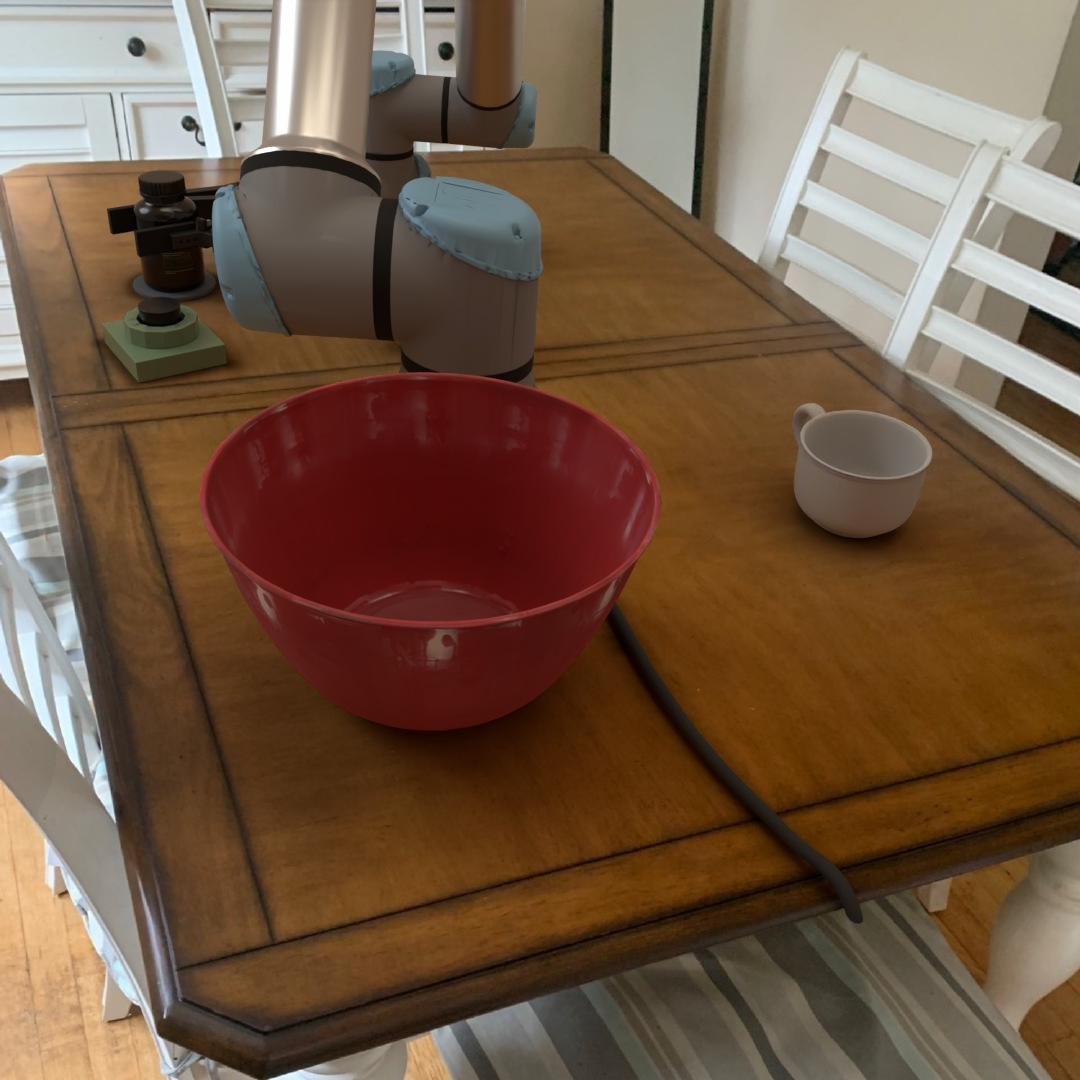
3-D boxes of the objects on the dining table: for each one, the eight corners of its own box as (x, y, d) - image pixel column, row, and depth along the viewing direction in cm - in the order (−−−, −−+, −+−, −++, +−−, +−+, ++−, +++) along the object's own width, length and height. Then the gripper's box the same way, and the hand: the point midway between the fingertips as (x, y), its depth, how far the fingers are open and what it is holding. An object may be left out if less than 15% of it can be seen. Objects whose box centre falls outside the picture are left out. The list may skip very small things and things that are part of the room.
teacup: (932, 547, 96) (959, 466, 91) (819, 561, 93) (840, 479, 88) (851, 462, 106) (871, 386, 102) (747, 473, 103) (763, 395, 99)
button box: (227, 364, 114) (223, 327, 111) (138, 383, 109) (132, 345, 107) (189, 326, 120) (185, 290, 118) (104, 343, 116) (98, 306, 113)
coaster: (228, 292, 128) (227, 289, 128) (149, 307, 123) (149, 303, 123) (198, 265, 134) (197, 262, 133) (122, 278, 129) (121, 274, 129)
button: (188, 324, 112) (186, 308, 111) (148, 332, 110) (146, 315, 109) (173, 309, 115) (171, 293, 114) (134, 317, 113) (131, 300, 112)
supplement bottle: (214, 273, 131) (203, 169, 124) (193, 296, 125) (181, 189, 118) (156, 267, 131) (142, 163, 124) (133, 290, 126) (117, 182, 119)
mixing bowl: (496, 893, 64) (512, 691, 55) (129, 696, 74) (92, 501, 65) (695, 629, 84) (729, 451, 75) (385, 505, 95) (383, 336, 86)
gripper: (356, 259, 130) (164, 297, 118) (275, 206, 142) (94, 236, 130) (354, 194, 126) (155, 227, 114) (271, 146, 138) (84, 171, 126)
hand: (123, 232), depth 122 cm, fingers closed on supplement bottle, 7 cm apart
